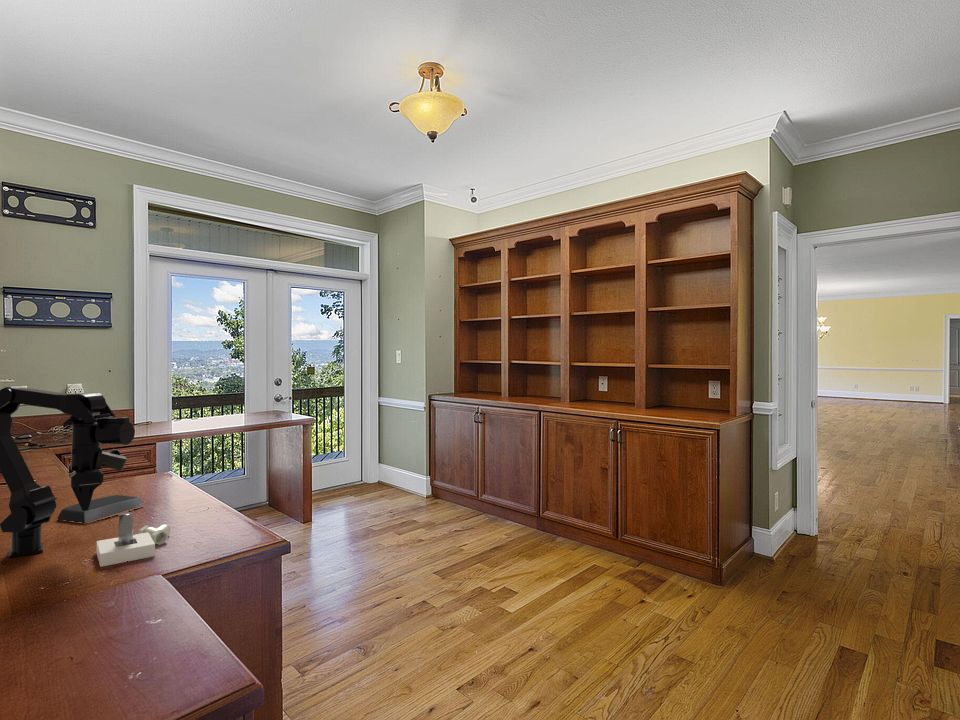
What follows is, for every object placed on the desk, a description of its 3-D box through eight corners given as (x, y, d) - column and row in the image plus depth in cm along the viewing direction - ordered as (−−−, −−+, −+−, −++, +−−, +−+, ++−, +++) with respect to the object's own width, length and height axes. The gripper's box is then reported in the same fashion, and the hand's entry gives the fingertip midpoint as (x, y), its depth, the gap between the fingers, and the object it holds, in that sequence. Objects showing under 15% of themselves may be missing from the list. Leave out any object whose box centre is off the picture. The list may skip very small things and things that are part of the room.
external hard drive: (146, 508, 172) (146, 496, 172) (86, 526, 154) (86, 512, 154) (116, 504, 176) (116, 492, 176) (54, 521, 158) (54, 508, 158)
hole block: (96, 553, 132) (96, 541, 132) (148, 543, 139) (148, 532, 139) (100, 566, 123) (100, 554, 123) (155, 556, 130) (155, 543, 130)
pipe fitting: (164, 535, 147) (138, 540, 141) (165, 521, 147) (139, 525, 142) (180, 541, 143) (153, 546, 137) (181, 526, 143) (155, 531, 137)
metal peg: (117, 554, 131) (118, 513, 131) (131, 551, 133) (132, 511, 133) (118, 557, 129) (119, 516, 129) (133, 555, 131) (133, 514, 131)
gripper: (129, 446, 130) (127, 510, 130) (120, 436, 144) (119, 493, 144) (72, 450, 123) (70, 517, 123) (69, 439, 137) (67, 499, 137)
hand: (84, 506), depth 132 cm, fingers open, 9 cm apart
